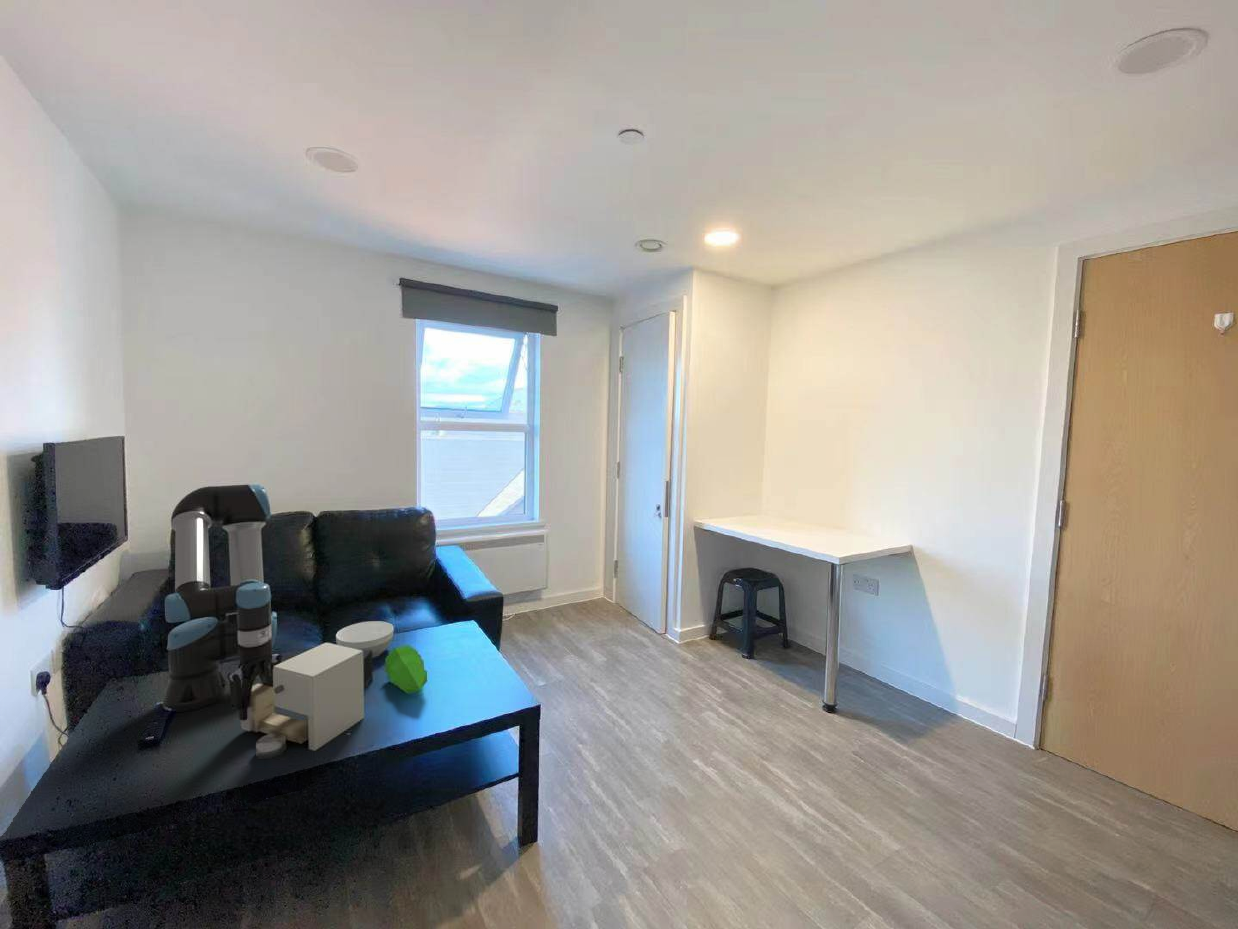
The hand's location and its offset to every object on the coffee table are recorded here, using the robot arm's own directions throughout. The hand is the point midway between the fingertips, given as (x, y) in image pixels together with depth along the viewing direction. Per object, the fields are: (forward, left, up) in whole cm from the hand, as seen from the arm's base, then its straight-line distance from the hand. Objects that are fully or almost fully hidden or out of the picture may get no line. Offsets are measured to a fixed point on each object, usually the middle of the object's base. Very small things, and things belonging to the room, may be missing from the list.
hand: (257, 723), depth 141 cm
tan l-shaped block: (+8, 0, 0) cm, 8 cm away
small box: (+4, +28, -2) cm, 28 cm away
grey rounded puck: (+12, -5, -2) cm, 13 cm away
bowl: (-9, +46, -2) cm, 47 cm away
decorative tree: (+21, +33, -2) cm, 39 cm away
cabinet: (+15, +7, -2) cm, 17 cm away
